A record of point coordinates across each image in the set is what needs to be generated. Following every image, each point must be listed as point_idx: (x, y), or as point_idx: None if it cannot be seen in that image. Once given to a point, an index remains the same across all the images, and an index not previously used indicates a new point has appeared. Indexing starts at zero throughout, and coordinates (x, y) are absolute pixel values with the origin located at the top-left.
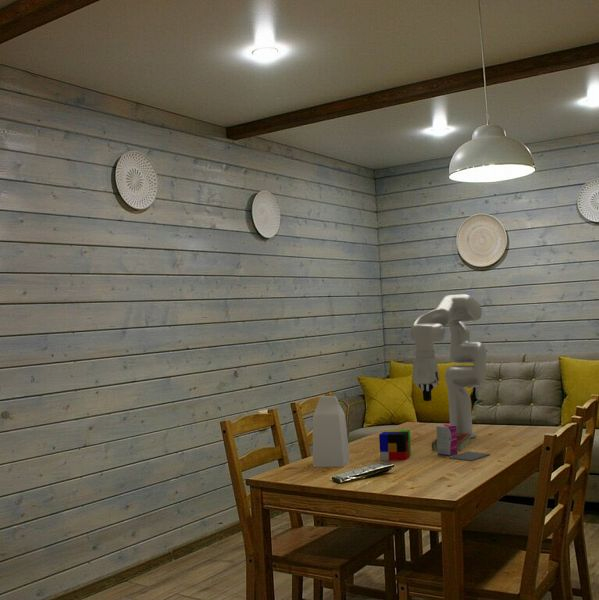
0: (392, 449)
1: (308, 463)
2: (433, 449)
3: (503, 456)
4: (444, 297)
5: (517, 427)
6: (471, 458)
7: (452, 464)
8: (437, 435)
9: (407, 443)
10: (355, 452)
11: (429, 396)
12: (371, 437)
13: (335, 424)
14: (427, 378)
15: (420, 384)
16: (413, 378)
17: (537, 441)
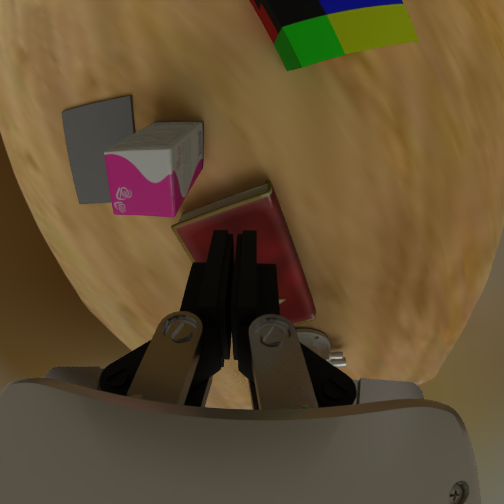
0: None
1: None
2: (267, 184)
3: (55, 207)
4: None
5: None
6: (71, 125)
7: (79, 45)
8: (179, 136)
9: (266, 16)
10: (471, 70)
11: (190, 279)
12: (487, 267)
13: None
14: (46, 474)
15: (315, 403)
16: (465, 467)
17: (131, 350)
